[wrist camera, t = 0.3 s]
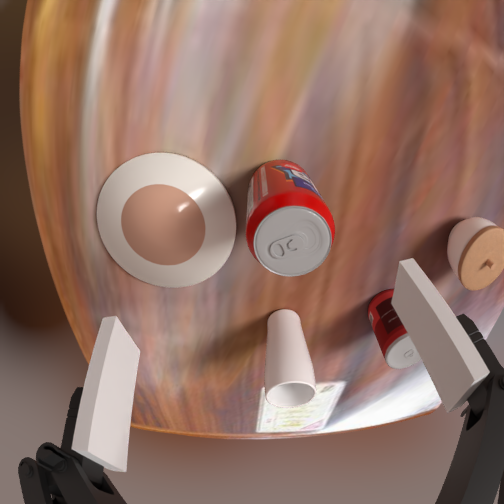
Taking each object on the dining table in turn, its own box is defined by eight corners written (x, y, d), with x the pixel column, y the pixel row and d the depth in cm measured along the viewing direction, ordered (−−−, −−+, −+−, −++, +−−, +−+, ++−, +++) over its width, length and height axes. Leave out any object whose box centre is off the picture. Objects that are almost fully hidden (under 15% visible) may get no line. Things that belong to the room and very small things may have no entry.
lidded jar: (489, 239, 40) (519, 267, 32) (448, 275, 44) (474, 308, 36) (474, 193, 37) (510, 219, 28) (427, 233, 40) (458, 266, 32)
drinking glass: (312, 317, 48) (327, 392, 35) (283, 339, 51) (290, 413, 38) (283, 296, 46) (292, 374, 33) (254, 321, 48) (253, 397, 35)
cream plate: (84, 169, 36) (80, 171, 35) (224, 139, 34) (223, 140, 33) (123, 287, 46) (121, 291, 45) (245, 277, 44) (245, 282, 43)
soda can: (237, 173, 37) (228, 222, 23) (296, 148, 35) (322, 183, 22) (263, 225, 40) (268, 295, 27) (318, 202, 38) (350, 263, 25)
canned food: (385, 328, 50) (404, 374, 40) (357, 311, 48) (375, 361, 38) (414, 299, 47) (440, 343, 37) (388, 280, 44) (415, 326, 35)
